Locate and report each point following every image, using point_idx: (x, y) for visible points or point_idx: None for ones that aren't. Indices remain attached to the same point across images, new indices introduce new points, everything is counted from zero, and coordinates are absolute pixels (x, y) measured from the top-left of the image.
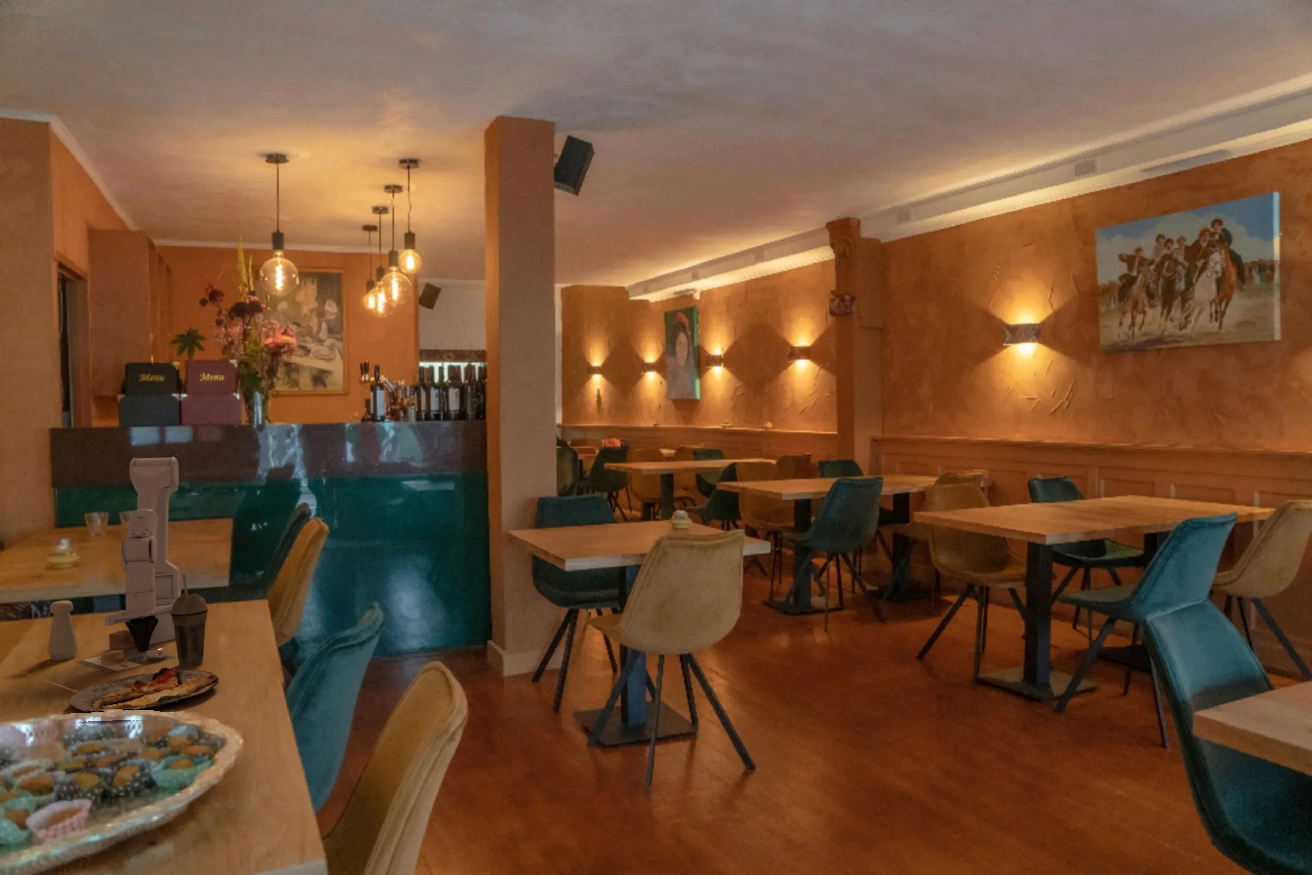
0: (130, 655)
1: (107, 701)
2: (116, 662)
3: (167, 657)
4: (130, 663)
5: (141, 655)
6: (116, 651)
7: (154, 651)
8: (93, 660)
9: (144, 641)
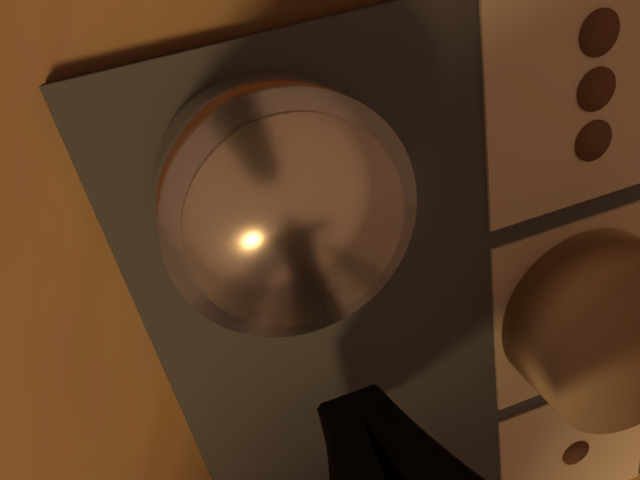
0: None
1: None
2: (598, 232)
3: (151, 172)
4: (517, 156)
5: None
6: (598, 389)
7: (350, 117)
8: None
9: (402, 463)
